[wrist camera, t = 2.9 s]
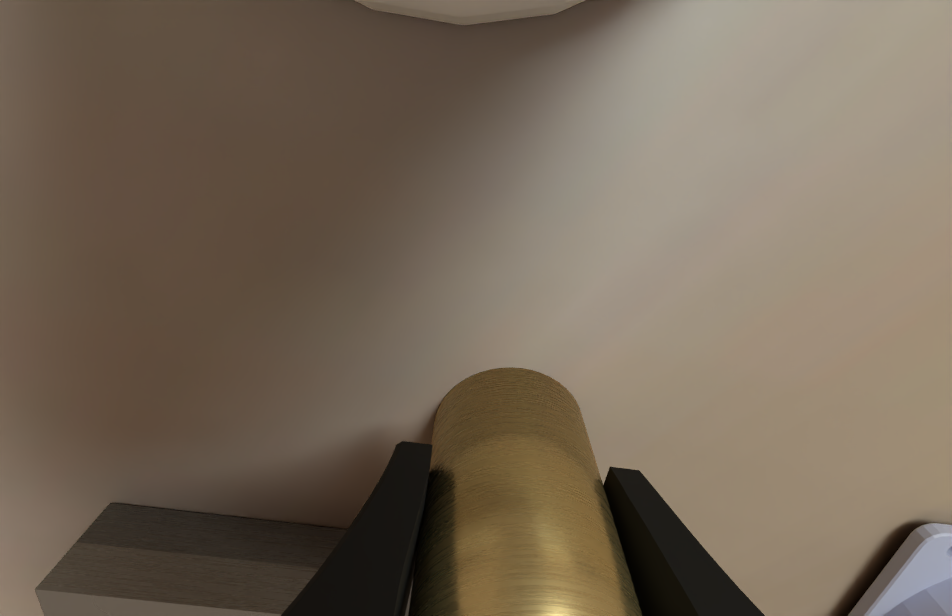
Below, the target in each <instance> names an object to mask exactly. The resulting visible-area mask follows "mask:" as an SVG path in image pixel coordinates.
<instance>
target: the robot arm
mask: <svg viewBox="0 0 952 616" xmlns="http://www.w3.org/2000/svg"><path fill="white" fill-rule="evenodd" d="M432 446H433V445H429V444H421V443H413V442H405V441H402V442H400V443H399V444H397V445H396V447H395V450H394V453H393V455H392V457H391V459H390V461H389V463H388V465H387V467H386V469H385V471H384V473H383V475H382V477H381V478H380V480H379V482H378V484H377V485H376V487H375V489H374V490H373V492H372V494H371V495H370V497H369V498H368V500H367V502H366V503H365V505H364V506H363V508H362V509H361V511H360V512H359V514H358V515H357V517H356V518H355V520H354V522H353V523H352V525H351V526H350V527H349V529H348V530H347V532H346V533H345V534H344V536H343V537H342V539H341V540H340V541H339V543H338V544H337V545H336V547H335V548H334V549H333V551H332V552H331V553H330V555H329V556H328V558H327V559H326V560H325V562H324V563H323V564H322V566H321V567H320V568H319V570H318V571H317V572H316V573H315V575H314V576H313V577H312V578H311V580H310V581H309V582H308V583H307V585H306V586H305V587H304V588H303V590H302V591H301V592H300V593H299V595H298V596H297V597H296V598H295V599H294V601H293V602H292V603H291V604H290V605H289V606H288V608H287V609H286V610H285V611H284V612H283V613H282V615H281V616H405V613H406V608H407V604H408V599H409V595H410V590H411V586H412V581H413V576H414V569H415V561H416V554H417V546H418V539H419V533H420V527H421V522H422V517H423V512H424V505H425V498H426V491H427V484H428V478H429V470H430V463H431V455H432ZM603 487H604V490H605V493H606V497H607V500H608V503H609V507H610V510H611V513H612V516H613V520H614V523H615V526H616V530H617V533H618V536H619V540H620V543H621V546H622V549H623V553H624V556H625V559H626V563H627V566H628V569H629V573H630V576H631V579H632V582H633V586H634V589H635V592H636V596H637V599H638V602H639V606H640V609H641V612H642V615H643V616H765V615H764V614H763V613H762V612H761V611H760V610H759V609H758V608H757V607H756V606H755V605H754V604H753V603H752V601H751V600H750V599H749V598H748V597H747V596H746V595H745V594H744V593H743V592H742V591H741V590H740V589H739V588H738V586H737V585H736V584H735V583H734V582H733V581H732V580H731V579H730V577H729V576H728V575H727V574H726V573H725V572H724V571H723V570H722V569H721V567H720V566H719V565H718V564H717V563H716V562H715V561H714V559H713V558H712V557H711V556H710V555H709V554H708V552H707V551H706V550H705V549H704V548H703V547H702V545H701V544H700V543H699V542H698V541H697V539H696V538H695V537H694V536H693V535H692V534H691V532H690V531H689V530H688V529H687V528H686V526H685V525H684V524H683V523H682V522H681V520H680V519H679V518H678V517H677V515H676V514H675V513H674V512H673V511H672V509H671V508H670V507H669V506H668V505H667V503H666V502H665V501H664V500H663V498H662V497H661V496H660V495H659V494H658V492H657V491H656V490H655V489H654V488H653V486H652V485H651V484H650V483H649V482H648V480H647V479H646V478H645V477H644V476H643V474H642V473H641V472H640V471H639V470H631V469H623V468H615V467H610V468H609V471H608V474H607V477H606V480H605V482H604V485H603ZM848 616H952V525H948V524H940V523H928V524H925V525H921V526H920V527H918V528H916V529H915V530H913V531H912V532H911V533H910V535H909V536H908V537H907V539H906V540H905V541H904V542H903V544H902V545H901V546H900V548H899V549H898V550H897V552H896V553H895V554H894V556H893V557H892V558H891V559H890V561H889V562H888V563H887V565H886V566H885V567H884V569H883V570H882V571H881V573H880V574H879V575H878V577H877V578H876V579H875V580H874V582H873V583H872V584H871V586H870V587H869V588H868V590H867V591H866V592H865V594H864V595H863V596H862V597H861V599H860V600H859V601H858V603H857V604H856V605H855V607H854V608H853V609H852V611H851V612H850V613H849V614H848Z"/></svg>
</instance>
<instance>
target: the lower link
mask: <svg viewBox="0 0 952 616" xmlns="http://www.w3.org/2000/svg"><path fill="white" fill-rule="evenodd" d="M346 532H347V530H346V529H337V528H328V527H320V526H311V525H302V524H293V523H284V522H275V521H266V520H257V519H249V518H240V517H231V516H222V515H213V514H204V513H195V512H186V511H178V510H169V509H160V508H151V507H142V506H133V505H124V504H115V503H110V504H109V505H108V506H107V507H106V509H105V510H104V511H103V512H102V513H101V514H100V515H99V517H98V518H97V519H96V520H95V521H94V522H93V523H92V525H91V526H90V527H89V528H88V529H87V530H86V531H85V533H84V534H83V535H82V536H81V537H80V538H79V539H78V541H77V542H80V543H89V544H98V545H107V546H117V547H126V548H135V549H145V550H154V551H163V552H172V553H182V554H191V555H200V556H209V557H219V558H228V559H237V560H247V561H256V562H265V563H274V564H284V565H293V566H302V567H311V568H320V567H321V566H322V564H323V563H324V562H325V560H326V559H327V558H328V556H329V555H330V553H331V552H332V551H333V549H334V548H335V547H336V545H337V544H338V543H339V541H340V540H341V539H342V537H343V536H344V534H345V533H346ZM412 583H413V581H412ZM411 591H412V586H411V590H410V595H409V599H408V604H407V608H406V613H405V616H408V613H409V606H410V598H411Z"/></svg>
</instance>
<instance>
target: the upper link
mask: <svg viewBox="0 0 952 616" xmlns="http://www.w3.org/2000/svg"><path fill="white" fill-rule="evenodd" d="M318 570H319V568H311V567H302V566H293V565H284V564H274V563H265V562H256V561H247V560H237V559H228V558H219V557H209V556H200V555H191V554H182V553H172V552H163V551H154V550H145V549H135V548H126V547H117V546H107V545H98V544H89V543H80V542H76V543H75V544H74V545H73V546H72V547H71V549H70V550H69V551H68V552H67V553H66V554H65V555H64V557H63V558H62V559H61V560H60V561H59V562H58V563H57V565H56V566H55V567H54V568H53V569H52V570H51V571H50V573H49V574H48V575H47V576H46V577H45V578H44V579H43V581H42V582H41V583H40V584H39V585H38V586H37V587H36V588H35V591H36V594H37V597H38V599H39V602H40V605H41V608H42V610H43V613H44V616H281V615H282V613H283V612H284V611H285V610H286V609H287V608H288V606H289V605H290V604H291V603H292V602H293V601H294V599H295V598H296V597H297V596H298V595H299V593H300V592H301V591H302V590H303V588H304V587H305V586H306V585H307V583H308V582H309V581H310V580H311V578H312V577H313V576H314V575H315V573H316V572H317V571H318Z"/></svg>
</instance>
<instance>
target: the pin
mask: <svg viewBox="0 0 952 616" xmlns="http://www.w3.org/2000/svg"><path fill="white" fill-rule="evenodd" d="M431 445H433V446H432V455H431V463H430V470H429V478H428V484H427V491H426V498H425V505H424V512H423V517H422V522H421V527H420V533H419V539H418V546H417V554H416V561H415V569H414V576H413V583H412V591H411V598H410V606H409V613H408V616H643V615H642V612H641V609H640V606H639V602H638V599H637V596H636V592H635V589H634V586H633V582H632V579H631V576H630V573H629V569H628V566H627V563H626V559H625V556H624V553H623V549H622V546H621V543H620V540H619V536H618V533H617V530H616V526H615V523H614V520H613V516H612V513H611V510H610V507H609V503H608V500H607V497H606V493H605V490H604V487H603V483H602V480H601V477H600V474H599V470H598V467H597V464H596V460H595V457H594V454H593V450H592V447H591V444H590V441H589V437H588V434H587V431H586V427H585V424H584V421H583V417H582V414H581V411H580V408H579V406H578V404H577V402H576V400H575V399H574V397H573V396H572V394H571V393H570V392H569V391H568V390H567V389H566V388H565V387H564V386H563V385H561V384H560V383H559V382H557V381H556V380H554V379H552V378H551V377H549V376H546V375H544V374H542V373H539V372H536V371H533V370H528V369H522V368H499V369H492V370H488V371H484V372H481V373H478V374H476V375H473V376H471V377H469V378H467V379H465V380H463V381H462V382H461V383H459V384H458V385H456V386H455V387H454V388H453V389H452V390H451V391H450V392H449V393H448V394H447V395H446V397H445V398H444V399H443V401H442V402H441V404H440V406H439V408H438V410H437V413H436V417H435V421H434V428H433V436H432V443H431Z"/></svg>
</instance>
